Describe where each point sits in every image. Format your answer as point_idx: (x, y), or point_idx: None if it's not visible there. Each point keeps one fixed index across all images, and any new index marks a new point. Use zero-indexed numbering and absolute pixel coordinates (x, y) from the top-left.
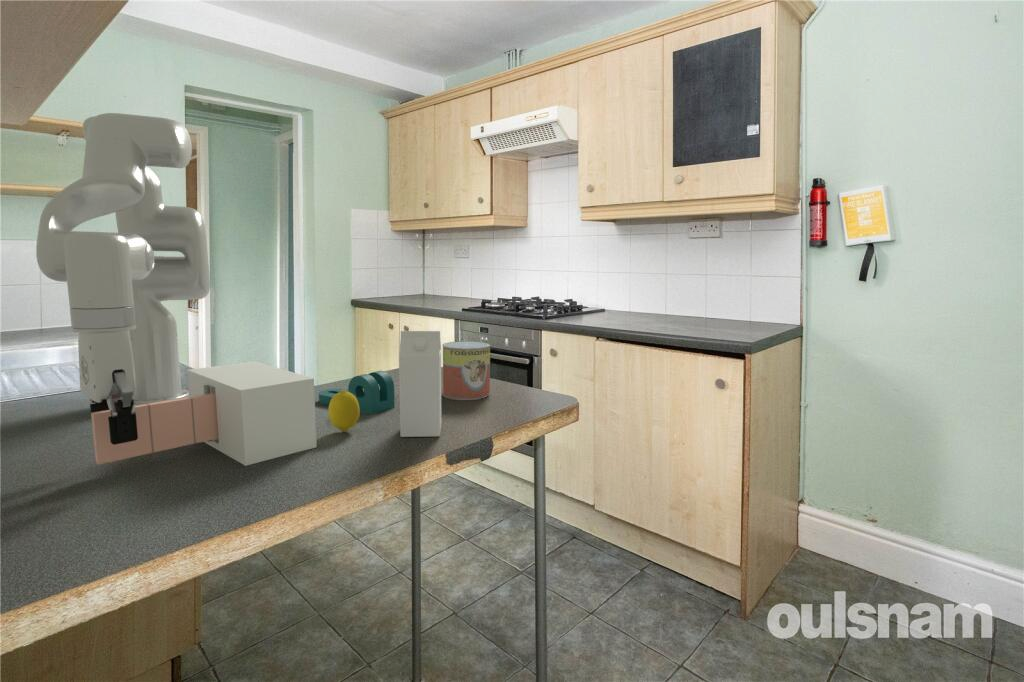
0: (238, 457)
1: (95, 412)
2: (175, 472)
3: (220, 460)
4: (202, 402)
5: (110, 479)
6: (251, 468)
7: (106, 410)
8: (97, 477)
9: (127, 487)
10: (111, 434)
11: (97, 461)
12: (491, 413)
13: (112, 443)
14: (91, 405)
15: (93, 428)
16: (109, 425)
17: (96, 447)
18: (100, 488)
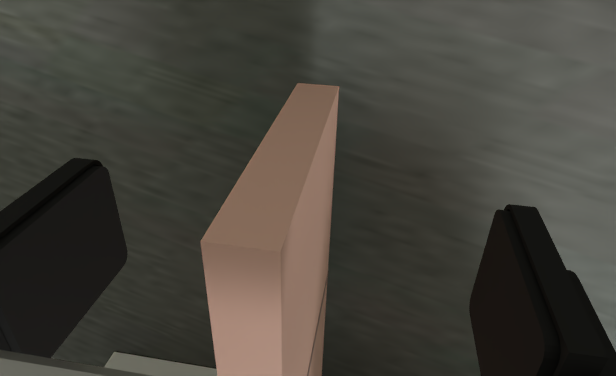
0: (149, 370)
1: (262, 274)
2: (180, 242)
3: (203, 345)
4: None
5: (258, 87)
6: (87, 348)
7: (280, 339)
8: (323, 60)
9: (125, 97)
10: (38, 187)
11: (305, 88)
12: None
13: (76, 160)
14: (568, 348)
15: (277, 172)
16: (2, 219)
17: (278, 116)
18: (175, 26)
